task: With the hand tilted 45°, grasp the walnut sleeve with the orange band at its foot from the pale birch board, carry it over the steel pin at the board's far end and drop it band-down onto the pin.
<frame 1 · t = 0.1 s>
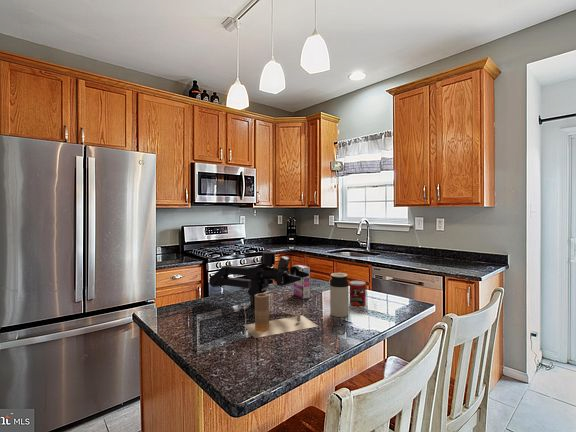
hand: (305, 276, 142), 17 cm above the countertop, tool horizontal, fingers open, 9 cm apart
sleeve: (262, 328, 120), point 1 cm above the countertop, touching pin board
candy bar box: (302, 296, 171), on the countertop
canned food: (357, 305, 155), on the countertop
travel mug: (339, 315, 140), on the countertop
pin board: (280, 329, 124), on the countertop
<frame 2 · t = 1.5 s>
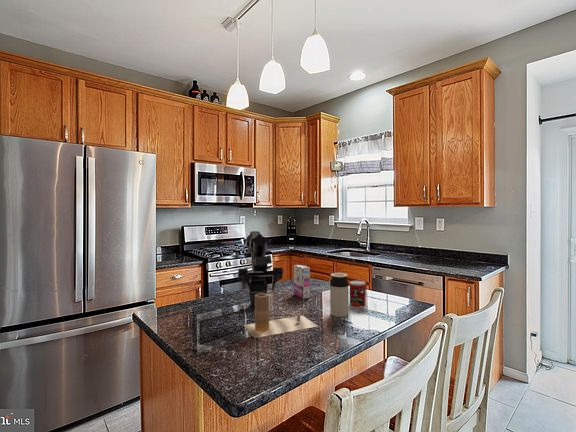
hand: (261, 291, 128), 14 cm above the countertop, tool tilted 45°, fingers open, 9 cm apart
nothing on the countertop moved.
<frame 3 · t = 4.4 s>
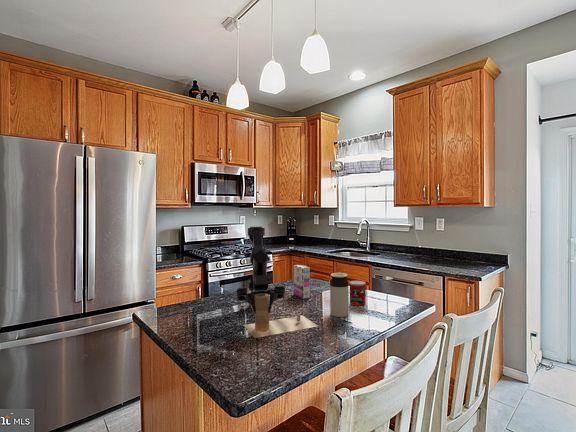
hand: (262, 312, 119), 8 cm above the countertop, tool tilted 45°, fingers closed on sleeve, 5 cm apart
sleeve: (262, 328, 120), point 2 cm above the countertop, touching gripper, pin board
everything else where it was.
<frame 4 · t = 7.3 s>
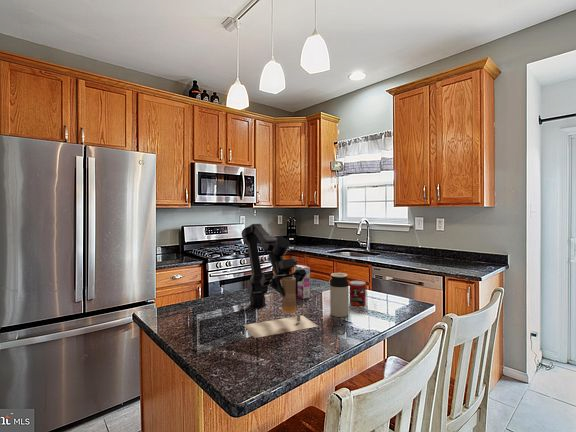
hand: (290, 295, 123), 14 cm above the countertop, tool tilted 45°, fingers closed on sleeve, 5 cm apart
sleeve: (289, 311, 124), point 7 cm above the countertop, touching gripper
everything else where it was.
when the fingers open (9 cm above the countertop, at t = 10.1 s): sleeve stays where it is, resting on pin board.
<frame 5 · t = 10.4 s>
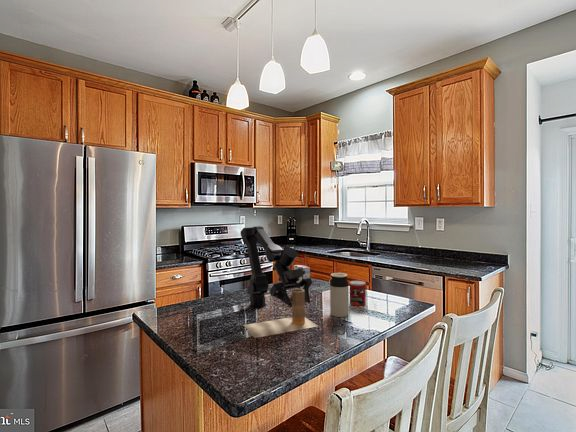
hand: (300, 304, 126), 9 cm above the countertop, tool tilted 45°, fingers open, 9 cm apart
sleeve: (298, 322, 127), point 1 cm above the countertop, touching pin board
everything else where it was.
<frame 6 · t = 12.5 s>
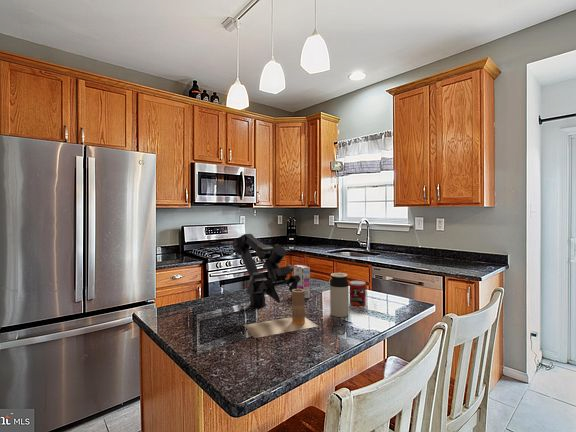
hand: (288, 300, 132), 9 cm above the countertop, tool tilted 45°, fingers open, 9 cm apart
nothing on the countertop moved.
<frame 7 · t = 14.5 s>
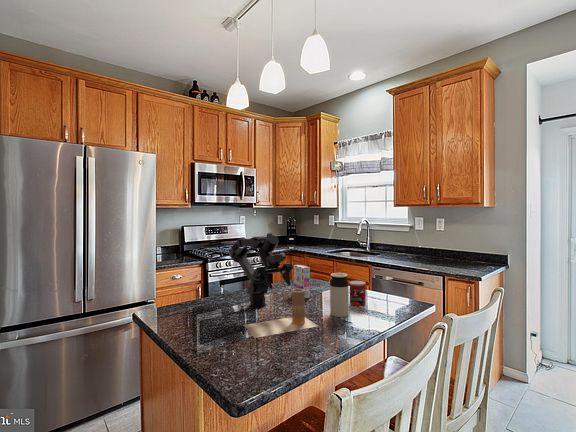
hand: (281, 286, 137), 14 cm above the countertop, tool tilted 45°, fingers open, 9 cm apart
nothing on the countertop moved.
at the end: sleeve 0.0 cm from the target spot, point 1.5 cm above the countertop; sleeve tilted 0°; the gripper is holding nothing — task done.
